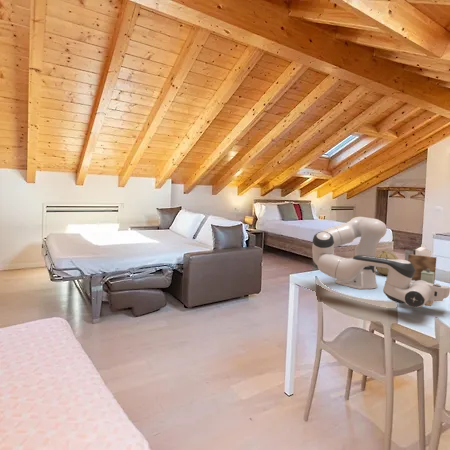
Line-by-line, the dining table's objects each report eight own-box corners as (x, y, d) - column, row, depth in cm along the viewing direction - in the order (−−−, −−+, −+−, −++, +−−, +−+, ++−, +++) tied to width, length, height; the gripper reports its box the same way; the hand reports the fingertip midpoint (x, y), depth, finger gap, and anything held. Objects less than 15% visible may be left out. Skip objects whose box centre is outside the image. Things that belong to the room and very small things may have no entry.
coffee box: (413, 276, 217) (415, 251, 215) (403, 273, 221) (404, 249, 219) (419, 273, 223) (421, 249, 221) (409, 271, 227) (410, 247, 225)
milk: (417, 282, 202) (420, 246, 199) (413, 279, 208) (415, 244, 205) (428, 283, 201) (431, 246, 199) (423, 280, 207) (426, 244, 205)
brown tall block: (402, 300, 171) (405, 257, 169) (408, 292, 184) (411, 252, 181) (430, 306, 164) (434, 261, 161) (436, 297, 176) (439, 255, 173)
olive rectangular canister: (419, 296, 169) (421, 269, 167) (421, 293, 173) (423, 267, 171) (431, 298, 166) (433, 270, 164) (432, 295, 169) (434, 268, 168)
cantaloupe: (399, 279, 210) (400, 254, 208) (373, 276, 216) (374, 252, 214) (398, 273, 223) (400, 250, 221) (374, 270, 229) (375, 248, 227)
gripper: (395, 292, 162) (402, 285, 173) (446, 302, 149) (450, 294, 160) (396, 279, 161) (403, 273, 172) (448, 288, 148) (451, 281, 159)
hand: (426, 283), depth 166 cm, fingers open, 8 cm apart
